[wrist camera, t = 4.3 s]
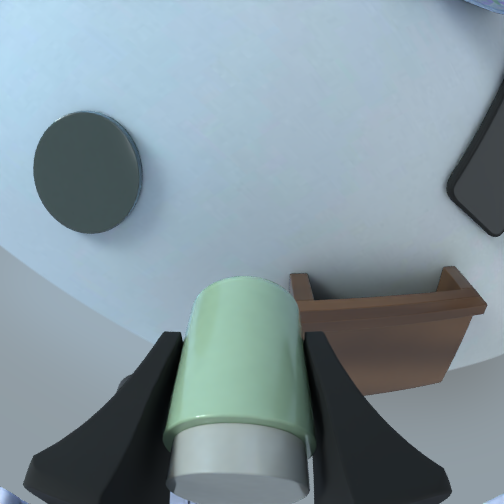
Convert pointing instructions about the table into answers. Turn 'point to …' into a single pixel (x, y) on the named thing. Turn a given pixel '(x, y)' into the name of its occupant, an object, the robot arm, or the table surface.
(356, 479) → the robot arm
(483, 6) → the pencil case
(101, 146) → the coaster
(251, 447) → the shaker
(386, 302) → the shelf
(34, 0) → the table surface
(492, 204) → the smartphone
